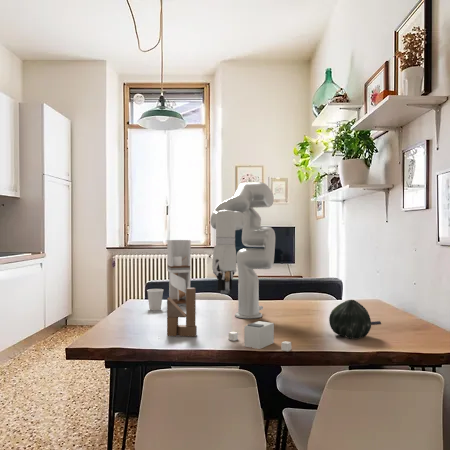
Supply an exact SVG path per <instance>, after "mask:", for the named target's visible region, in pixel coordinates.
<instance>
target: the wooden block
mask: <svg viewBox="0 0 450 450" xmlns="http://www.w3.org/2000/svg"><path fill="white" fill-rule="evenodd" d="M196 289H197V288H196V287H190V288H186V306H185V311H184V310H183V309H182V308H181V306H178V305H177V304H176V303H175V302H174V301H173V300H172V299H171V298H170V297H167V298H166V303H167V304H166V310H167V311H166V336H167V337H176V336H180V337H188V338H189V337H190V338H192V337H193V338H194V337H196V336H197V328H198V327H197V325H196V314H197V313H196V301H197V300H196V298H197V297H196V295H197V294H196V293H197V292H196ZM179 318H185V324H179Z"/></svg>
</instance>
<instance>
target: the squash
mask: <svg viewBox="0 0 450 450" xmlns="http://www.w3.org/2000/svg"><path fill="white" fill-rule="evenodd" d="M370 316H371V315H370V314H369V312H368V310H367V309H366V308H365V306H364V305H363V304H361V303H360V302H359V301H357V300H355V299H348V300H345V301H344V302H341V303H340V304H337V306H336V307H334V308H333V309H332V310H331V312H330V314H329V317H328V323H329V327H330V329H331V330H332V331H333V332H334V333H335V334H337V335H338V336H343V337H346V338H347V339H350V340H352V339H355V340H359V339H360V338H365V337H366V336H367V335H368V334H369V333H370V331H371V328H372V325H371V322H372V319H371V317H370Z"/></svg>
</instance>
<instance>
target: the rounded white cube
mask: <svg viewBox="0 0 450 450" xmlns="http://www.w3.org/2000/svg"><path fill="white" fill-rule="evenodd" d="M238 339H239V333H238V332H236V331H231V332H228V340H229V341H233V342H234V341H237V340H238Z"/></svg>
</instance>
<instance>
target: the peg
mask: <svg viewBox="0 0 450 450" xmlns="http://www.w3.org/2000/svg"><path fill="white" fill-rule="evenodd" d="M221 275H222V273H221ZM224 280H225V290H224V291H223V290H220V295H230V290H229V286H230V271H227V272H225V277H224Z"/></svg>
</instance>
